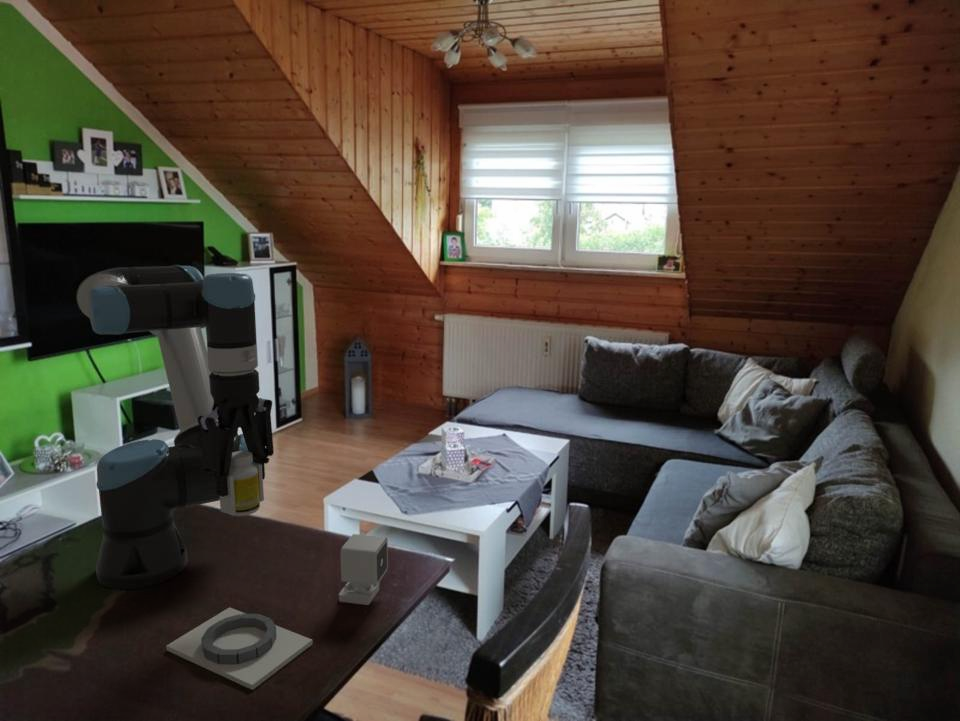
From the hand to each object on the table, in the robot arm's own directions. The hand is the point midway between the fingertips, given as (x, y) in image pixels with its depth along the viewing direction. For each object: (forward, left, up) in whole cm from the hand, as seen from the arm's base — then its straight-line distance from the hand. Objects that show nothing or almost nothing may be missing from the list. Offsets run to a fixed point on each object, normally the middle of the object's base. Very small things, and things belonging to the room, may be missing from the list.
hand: (242, 505), depth 116 cm
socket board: (+10, -11, -17) cm, 22 cm away
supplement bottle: (0, 0, -1) cm, 1 cm away
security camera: (+17, +10, -17) cm, 26 cm away
